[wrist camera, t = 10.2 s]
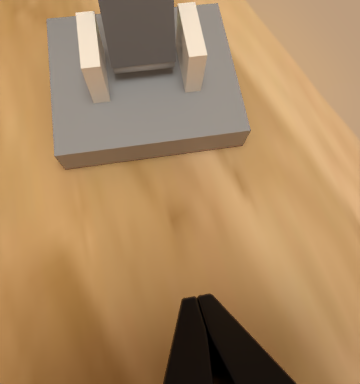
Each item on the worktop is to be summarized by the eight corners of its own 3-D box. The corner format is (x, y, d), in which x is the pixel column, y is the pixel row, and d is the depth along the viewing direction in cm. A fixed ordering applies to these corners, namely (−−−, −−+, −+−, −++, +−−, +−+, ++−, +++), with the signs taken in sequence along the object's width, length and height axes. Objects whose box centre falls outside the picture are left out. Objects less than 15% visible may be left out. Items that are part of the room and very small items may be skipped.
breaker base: (242, 145, 26) (266, 100, 20) (65, 169, 24) (32, 129, 18) (213, 26, 29) (226, -43, 23) (56, 42, 28) (26, -27, 22)
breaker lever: (177, 73, 23) (170, -87, 17) (113, 80, 22) (81, -82, 16) (172, 59, 25) (164, -91, 18) (112, 66, 24) (84, -86, 18)
